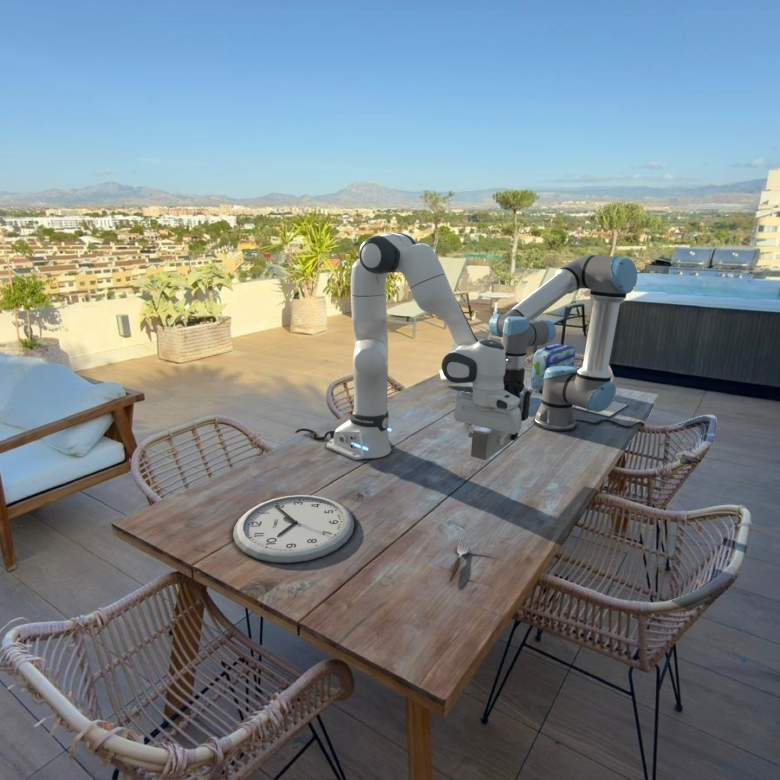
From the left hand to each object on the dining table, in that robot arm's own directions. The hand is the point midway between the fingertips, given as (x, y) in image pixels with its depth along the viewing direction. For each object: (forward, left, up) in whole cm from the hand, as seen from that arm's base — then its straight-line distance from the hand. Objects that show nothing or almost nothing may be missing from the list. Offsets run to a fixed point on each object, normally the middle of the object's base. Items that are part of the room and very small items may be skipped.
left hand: (485, 440), depth 155 cm
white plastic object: (-34, +83, -13) cm, 90 cm away
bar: (0, +8, -5) cm, 9 cm away
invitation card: (+18, +93, -13) cm, 96 cm away
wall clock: (-31, -51, -13) cm, 60 cm away
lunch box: (-7, +108, -13) cm, 109 cm away
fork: (+10, -42, -13) cm, 45 cm away
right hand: (+1, +16, -4) cm, 17 cm away
